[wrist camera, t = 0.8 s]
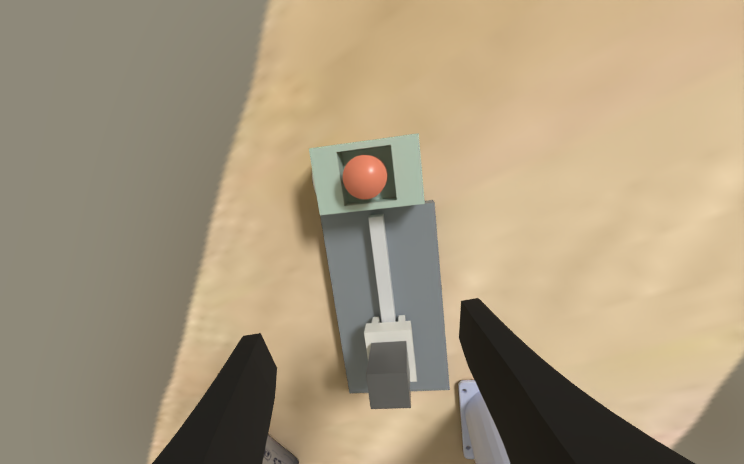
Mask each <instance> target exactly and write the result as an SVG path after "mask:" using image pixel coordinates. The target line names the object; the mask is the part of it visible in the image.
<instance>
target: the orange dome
mask: <svg viewBox="0 0 744 464" xmlns="http://www.w3.org/2000/svg"><path fill="white" fill-rule="evenodd" d="M387 179H388V172H387V169H386V166H385V165H384V163H383V162H382V161H381V160H380V159H378V158H377V157H374V156H370V155H360V156H356V157H354V158H353V159H351V160H350V161H349V162H348V163H347V164H346V166H345V168H344V171H343V183H344V186H345V188H346V190H347V191H348V192H349V193H350V194H351V195H352V196H354V197H356V198H359V199H371V198H373V197H375V196H377V195H378V194H379V193H380V192H381V191H382V190H383V188H384V187H385V185H386V183H387Z"/></svg>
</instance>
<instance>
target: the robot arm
mask: <svg viewBox="0 0 744 464" xmlns="http://www.w3.org/2000/svg"><path fill="white" fill-rule="evenodd" d="M459 340H460V343H461V346H462V349H463V352H464V355H465V358H466V361H467V364H468V366H469V369H470V371H471V373H472V375H473V378H474V380H462V381H460V382H459V384H458V387H459V401H460V414H461V428H462V441H463V453H464V457H465V458H466V459H475V463H476V464H695V463H693V462H691V461H690V460H688V459H686V458H685V457H683V456H681V455H680V454H678V453H676V452H675V451H673V450H671V449H670V448H668V447H666V446H665V445H663V444H661V443H660V442H658V441H656V440H655V439H653V438H652V437H650V436H648V435H647V434H645V433H644V432H642V431H641V430H639V429H638V428H636V427H635V426H633V425H632V424H630V423H628V422H627V421H625V420H624V419H622V418H621V417H619V416H618V415H616V414H615V413H613V412H612V411H610V410H609V409H607V408H606V407H604V406H603V405H602V404H600V403H599V402H597V401H596V400H595V399H593V398H592V397H590V396H589V395H588V394H586V393H585V392H583V391H582V390H581V389H579V388H578V387H577V386H575V385H574V384H573V383H571V382H570V381H569V380H568V379H566V378H565V377H564V376H563V375H561V374H560V373H559V372H558V371H556V370H555V369H554V368H553V367H551V366H550V365H549V364H548V363H547V362H545V361H544V360H543V359H542V358H541V357H540V356H538V355H537V354H536V353H535V352H534V351H533V350H532V349H530V348H529V347H528V346H527V345H526V344H525V343H524V342H523V341H522V340H521V339H519V338H518V337H517V336H516V335H515V334H514V333H513V332H512V331H511V330H510V329H509V328H508V327H507V326H506V325H505V324H504V323H503V322H502V321H501V320H500V319H499V318H498V317H497V316H496V315H495V314H494V313H493V312H492V311H491V310H490V309H489V308H488V307H487V306H486V305H485V304H484V303H483V302H482V301H481V300H480V299H478V298H476V299H470V300H464V301H461V313H460V330H459ZM276 375H277V367H276V365H275V363H274V361H273V359H272V356H271V354H270V352H269V350H268V348H267V346H266V344H265V342H264V339H263V337H262V335H261V333H259V334H252V335H246V336H243V337H242V338H241V340H240V341H239V343H238V344H237V346H236V348H235V349H234V351H233V352H232V354H231V355H230V357H229V358H228V360H227V362H226V363H225V365H224V366H223V368H222V369H221V371H220V372H219V374H218V375H217V377H216V378H215V380H214V381H213V383H212V384H211V386H210V387H209V389H208V390H207V392H206V393H205V395H204V396H203V397H202V399H201V400H200V402H199V403H198V405H197V406H196V407H195V409H194V410H193V411H192V413H191V414H190V416H189V417H188V418H187V420H186V421H185V422H184V424H183V425H182V426H181V428H180V429H179V430H178V432H177V433H176V434H175V436H174V437H173V438H172V439H171V441H170V442H169V443H168V445H167V446H166V447H165V448H164V450H163V451H162V452H161V453H160V454H159V456H158V457H157V458H156V459H155V461H154V462H153V463H152V464H262V463H263V457H264V452H265V447H266V442H267V437H268V432H269V426H270V421H271V416H272V410H273V405H274V399H275V389H276ZM463 389H466V390H465V391H463ZM467 446H469V447H467Z"/></svg>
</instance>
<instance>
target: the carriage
mask: <svg viewBox="0 0 744 464" xmlns="http://www.w3.org/2000/svg"><path fill="white" fill-rule="evenodd" d="M364 336H365V343H366V350H367V357H368V364H367V370H366V379H367V386H368V393H369V400H370V406H371V409H390V408H411V394H410V382H417V377H416V365H415V355H414V346H413V337H412V327H411V321H406V319H405V315H399V317H398V322H383V323H380V319H379V317H373V319H372V323H367V324H366V326H365V331H364Z"/></svg>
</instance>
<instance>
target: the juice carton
mask: <svg viewBox="0 0 744 464" xmlns="http://www.w3.org/2000/svg"><path fill="white" fill-rule="evenodd" d="M262 464H299V461H298V459H297V458H296V457H295V456H294V455H293V454H291V453H290V452H289V451H288V450H286V449H285V448H284V447H282V446H281V445H280V444H278V443H277V442H276V441H275V440H274V439H273V438H271V437H270V436H269V435H268V437H267V442H266V447H265V452H264V457H263V463H262Z"/></svg>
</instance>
